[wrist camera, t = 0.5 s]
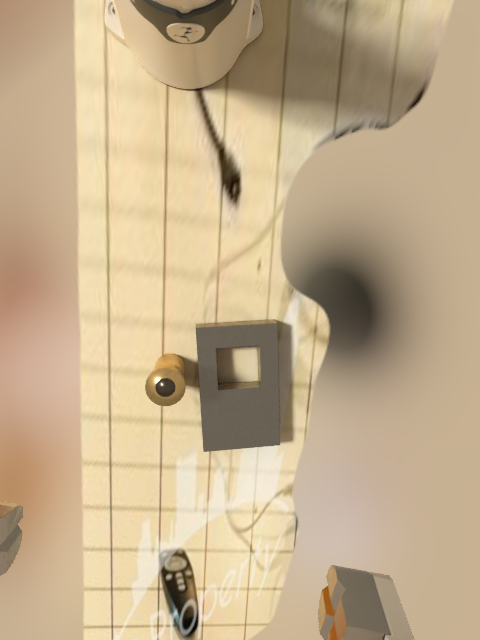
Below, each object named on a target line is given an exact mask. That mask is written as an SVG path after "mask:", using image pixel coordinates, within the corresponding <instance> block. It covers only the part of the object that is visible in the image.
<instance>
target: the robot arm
mask: <svg viewBox="0 0 480 640" xmlns="http://www.w3.org/2000/svg"><path fill="white" fill-rule="evenodd" d="M114 10H115V14H114V13H113V12H114ZM252 13H254V15H253V16H252ZM105 24H106V28H107V30H108V32H109V33H110V34H111V35H112V36H113V37H115V38H116V39H117V40H119V41H120V42H122V43H123V44H125V45H126V46H127V47H128V48H129V49H130V50H131V51H132V53H133V54H134V56H135V57H136V58H137V60H138V61H139V63H140V64H141V65H142V66H143V68H144V69H145V70H146V71H147V72H148V73H150V74H151V75H152V76H153V77H155V78H156V79H158V80H159V81H161V82H163V83H165V84H167V85H170V86H172V87H176V88H181V89H196V88H202V87H205V86H208V85H210V84H213V83H214V82H216V81H218V80H219V79H221V78H222V77H223V76H224V75H225V74H226V73H227V72H228V71H229V70H230V69H231V68H232V66H233V65H234V64H235V62H236V60H237V58H238V57H239V55H240V53H241V51H242V50H243V48H244V47H245V46H246V45H248V44H249V43H250V42H252V41H253V40H254V39H256V38H257V37H258V36H259V35H260V33H261V32H262V28H263V18H262V13H261V7H260V2H259V0H106V7H105ZM22 518H23V507H22V506H21V505H18V504H14V503H9V502H5V501H0V576H1V575H2V574H4V573H6V572H7V570H8V569H9V567H10V566H11V564H12V563H13V561H14V559H15V557H16V555H17V553H18V551H19V548H20V544H21V539H22V531H21V529H20V528H19V526H18V525H17V524H18V523H19V522H20V520H21V519H22ZM327 582H328V586H327V587H326V588H324V589H323V590H322V593H321V597H320V600H319V610H318V620H319V629H320V634H321V635H322V637H323V638H324V640H414V637H413V635H412V632H411V629H410V626H409V624H408V621H407V618H406V615H405V613H404V610H403V607H402V604H401V602H400V599H399V596H398V594H397V591H396V588H395V586H394V583H393V580H392V578H391V577H390V576H389V575H383V574H377V573H372V572H366V571H361V570H356V569H350V568H344V567H339V566H333V565H331V567H330V568H329V570H328V573H327Z"/></svg>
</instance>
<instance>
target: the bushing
mask: <svg viewBox="0 0 480 640" xmlns="http://www.w3.org/2000/svg"><path fill="white" fill-rule="evenodd" d="M183 376H184V362H183V360H182V359H181V358H180V357H179V356H177V355H175V354H165V355H163V356H161V357H160V358H159V359H158V361H157V363H156V366H155V369H154V371H152V372H151V374H150V375H149V376H148V379H147V381H146V385H145V389H146V394H147V396H148V397H149V399H150V400H151V401H152V402H154V403H155V404H157V405H161V406H170V405H173V404H175V403H177V402H178V401H180V400H181V398H182V397H183V395H184V393H185V387H186V383H185V379H184V377H183Z"/></svg>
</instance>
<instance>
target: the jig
mask: <svg viewBox="0 0 480 640" xmlns="http://www.w3.org/2000/svg"><path fill="white" fill-rule="evenodd" d="M196 338H197V353H198V369H199V385H200V401H201V417H202V433H203V449H204V452H207V451H218V450H229V449H241V448H252V447H263V446H274V445H280V417H279V371H278V326H277V322H276V321H275V320H274V319H273V320H256V321H239V322H222V323H205V324H196ZM245 346H257V350H258V381H253V382H239V383H226V384H218V379H217V360H216V348H229V347H245Z"/></svg>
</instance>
